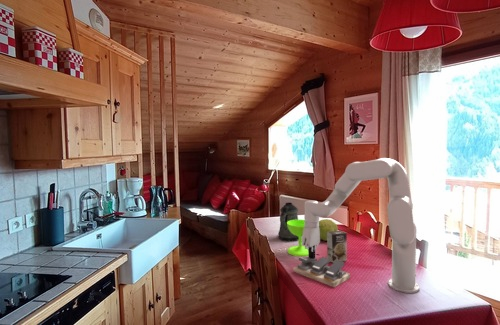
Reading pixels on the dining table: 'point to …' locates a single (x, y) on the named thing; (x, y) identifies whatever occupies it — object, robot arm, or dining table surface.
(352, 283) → the dining table surface
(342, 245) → the coffee box
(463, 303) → the dining table surface
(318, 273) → the switch board
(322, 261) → the rocker middle
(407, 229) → the robot arm
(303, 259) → the plate
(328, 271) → the rocker near
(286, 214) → the beer stein
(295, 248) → the wineglass
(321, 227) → the fruit
